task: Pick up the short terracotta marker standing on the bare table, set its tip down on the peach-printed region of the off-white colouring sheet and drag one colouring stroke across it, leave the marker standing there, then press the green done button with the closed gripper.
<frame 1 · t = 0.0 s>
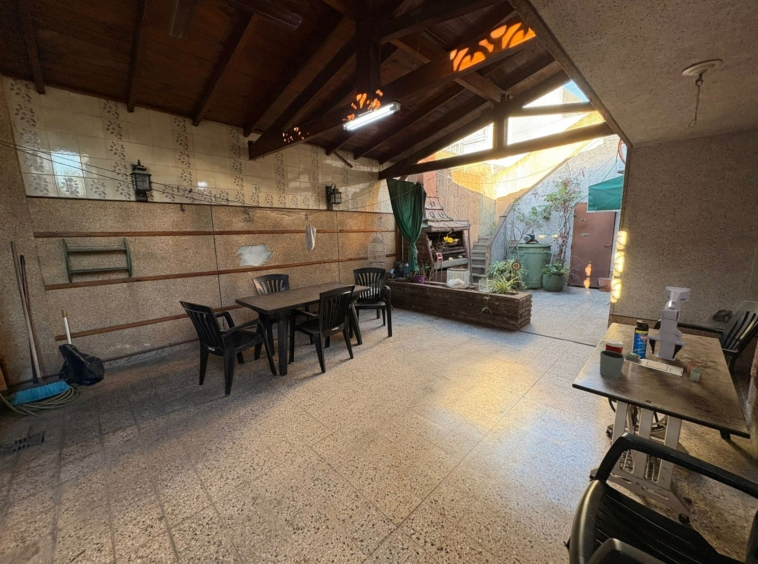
hand: (662, 355, 153), 10 cm above the table, fingers open, 7 cm apart
coffee cup: (611, 367, 163), on the table
terracotta marker: (690, 373, 155), on the table
green round bin: (609, 375, 154), on the table
button housing: (632, 359, 170), resting on colouring sheet
colouring sheet: (652, 365, 164), on the table
sage marker: (694, 379, 148), on the table
done button: (633, 355, 170), point 3 cm above the table, slide at 0.0 cm
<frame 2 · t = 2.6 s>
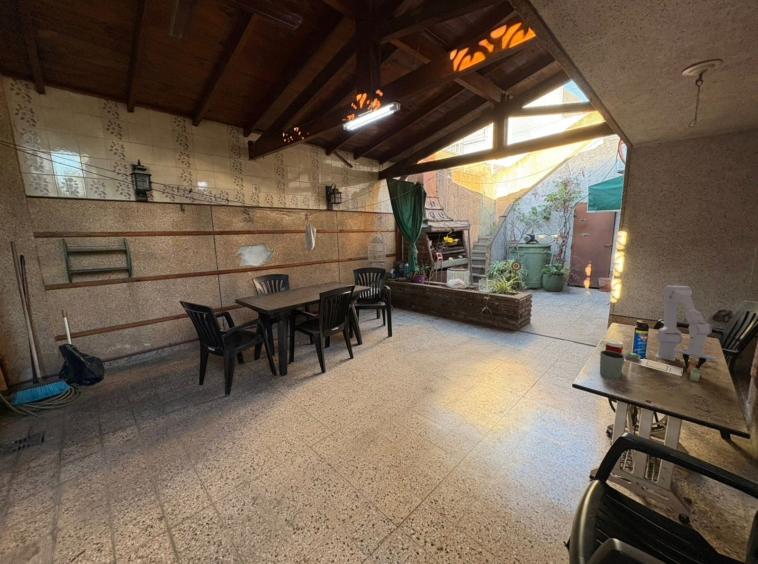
hand: (691, 369, 154), 2 cm above the table, fingers closed on terracotta marker, 3 cm apart
terracotta marker: (690, 373, 155), on the table, touching gripper
everything else where it was.
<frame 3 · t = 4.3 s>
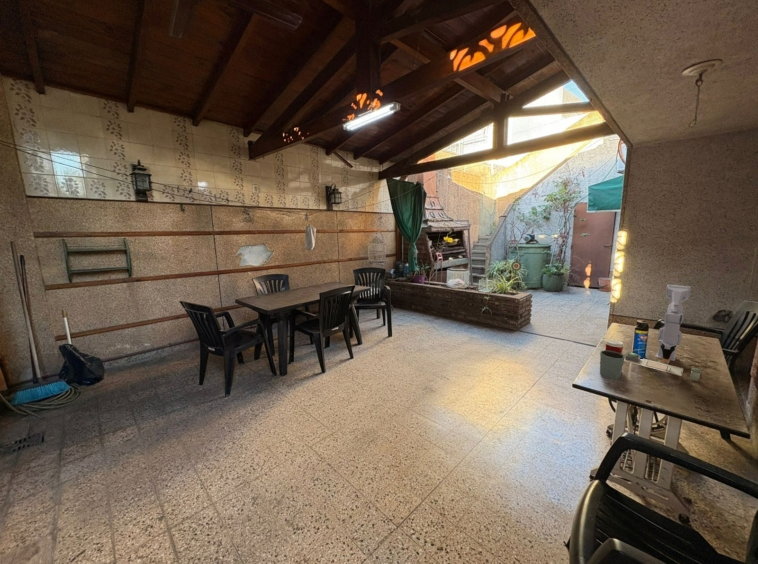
hand: (666, 357, 158), 7 cm above the table, fingers closed on terracotta marker, 3 cm apart
terracotta marker: (665, 361, 159), point 4 cm above the table, touching gripper
everything else where it was.
when the fingers open (3 cm above the table, at t = 6.3 s): terracotta marker stays where it is, resting on colouring sheet.
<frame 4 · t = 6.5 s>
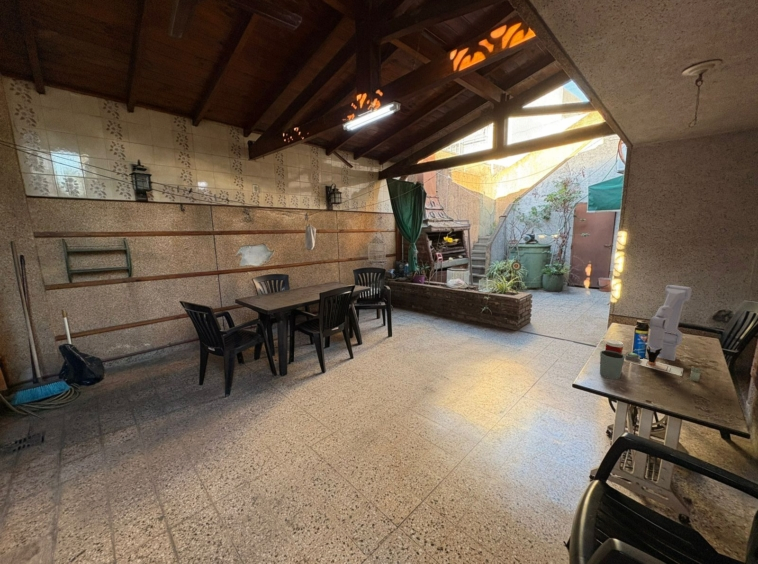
hand: (652, 360, 163), 3 cm above the table, fingers open, 5 cm apart
terracotta marker: (651, 364, 163), point 1 cm above the table, touching colouring sheet
everything else where it was.
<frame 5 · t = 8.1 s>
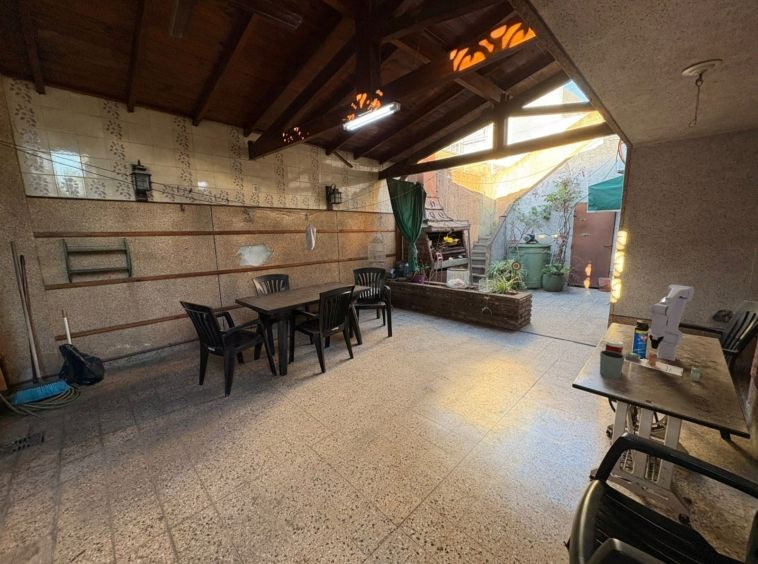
hand: (654, 348, 162), 10 cm above the table, fingers closed
nothing on the table moved.
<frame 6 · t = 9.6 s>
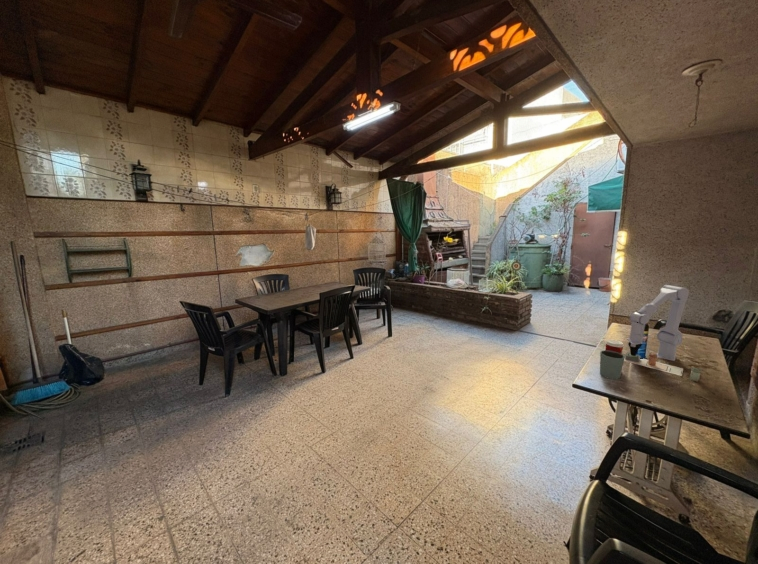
hand: (633, 355, 169), 3 cm above the table, fingers closed, pressing on done button
done button: (633, 356, 170), point 2 cm above the table, slide at -0.6 cm, touching gripper
everything else where it was.
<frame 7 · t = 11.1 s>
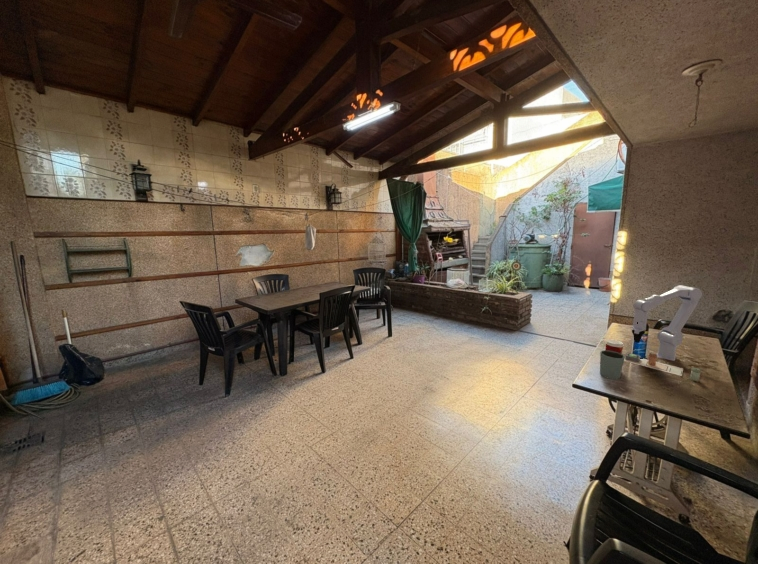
hand: (636, 342, 172), 10 cm above the table, fingers closed
done button: (633, 357, 170), point 2 cm above the table, slide at -0.8 cm
everything else where it was.
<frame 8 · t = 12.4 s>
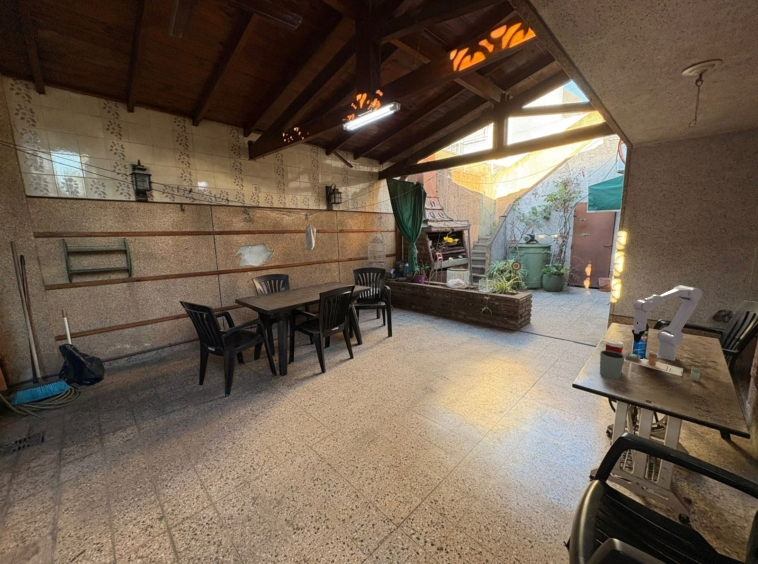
hand: (636, 342, 172), 10 cm above the table, fingers closed
nothing on the table moved.
at the end: terracotta marker inside the target area (2.2 cm from its centre), point 0.7 cm above the table; terracotta marker tilted 0°; done button slide at -0.8 cm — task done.
